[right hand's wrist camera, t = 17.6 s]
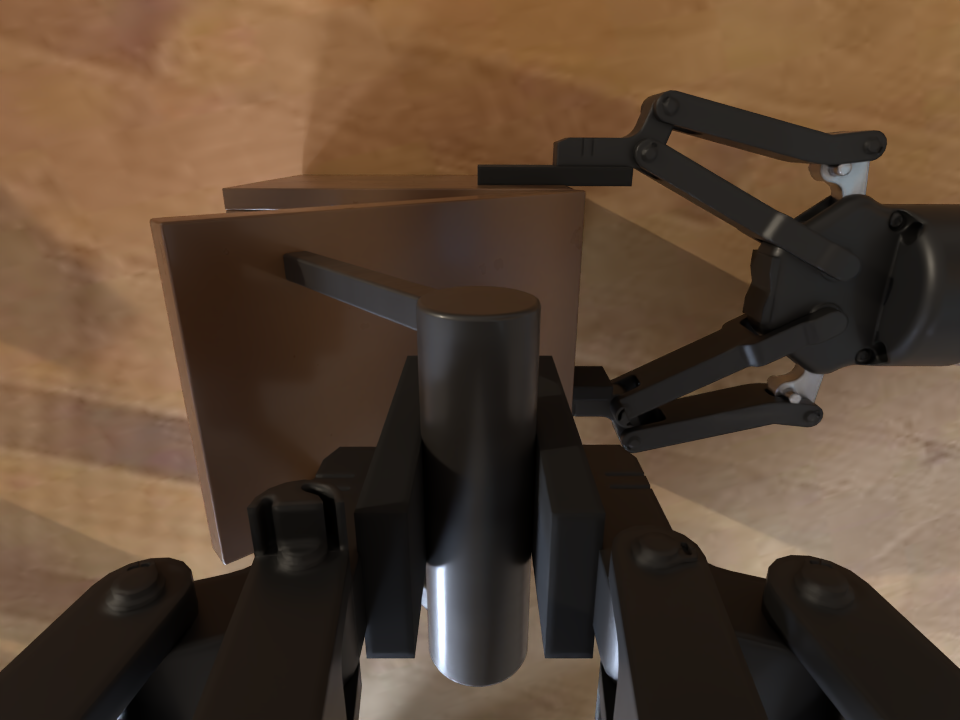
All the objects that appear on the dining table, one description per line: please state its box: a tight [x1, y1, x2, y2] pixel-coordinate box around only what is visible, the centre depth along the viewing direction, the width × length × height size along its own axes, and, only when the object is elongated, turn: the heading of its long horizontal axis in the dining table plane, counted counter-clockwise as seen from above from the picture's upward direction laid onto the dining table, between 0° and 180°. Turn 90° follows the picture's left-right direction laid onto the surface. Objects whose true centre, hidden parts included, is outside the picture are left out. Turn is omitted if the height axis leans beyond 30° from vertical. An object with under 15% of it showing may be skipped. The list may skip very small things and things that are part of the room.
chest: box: [222, 175, 573, 213], centre depth 29 cm, size 14×9×10 cm
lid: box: [150, 189, 585, 687], centre depth 16 cm, size 14×9×9 cm
